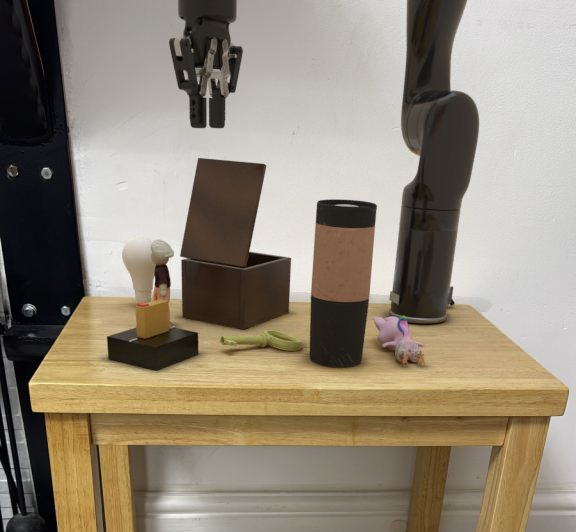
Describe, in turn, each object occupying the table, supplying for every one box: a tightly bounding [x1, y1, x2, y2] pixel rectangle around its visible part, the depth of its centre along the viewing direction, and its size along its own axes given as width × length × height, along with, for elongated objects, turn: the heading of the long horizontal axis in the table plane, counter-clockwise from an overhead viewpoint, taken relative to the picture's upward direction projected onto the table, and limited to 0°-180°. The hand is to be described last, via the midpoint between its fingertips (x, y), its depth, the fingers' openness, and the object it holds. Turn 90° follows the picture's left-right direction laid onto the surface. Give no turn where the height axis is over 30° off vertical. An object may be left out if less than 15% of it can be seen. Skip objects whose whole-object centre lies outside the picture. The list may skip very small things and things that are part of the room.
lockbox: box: [180, 251, 292, 330], centre depth 124 cm, size 14×12×9 cm
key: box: [219, 329, 303, 352], centre depth 109 cm, size 7×12×2 cm, turn 139°
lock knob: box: [135, 299, 170, 339], centre depth 101 cm, size 5×1×4 cm, turn 150°
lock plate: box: [106, 325, 199, 371], centre depth 103 cm, size 9×8×3 cm
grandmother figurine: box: [151, 238, 175, 327], centre depth 113 cm, size 8×4×13 cm, turn 18°
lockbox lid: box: [179, 157, 267, 267], centre depth 115 cm, size 14×12×1 cm
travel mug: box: [309, 198, 378, 368], centre depth 101 cm, size 8×8×20 cm
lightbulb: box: [121, 235, 156, 304], centre depth 126 cm, size 6×6×11 cm
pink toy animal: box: [372, 315, 426, 367], centre depth 109 cm, size 6×6×15 cm
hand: (207, 127), depth 107 cm, fingers open, 3 cm apart
